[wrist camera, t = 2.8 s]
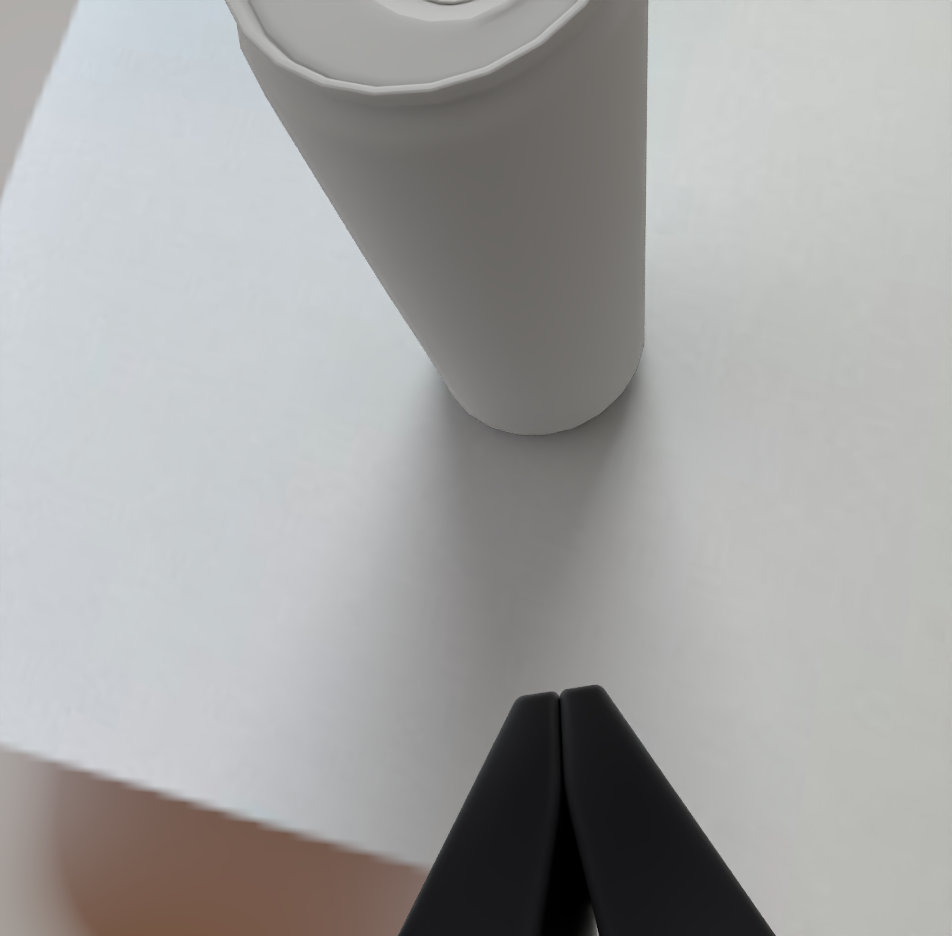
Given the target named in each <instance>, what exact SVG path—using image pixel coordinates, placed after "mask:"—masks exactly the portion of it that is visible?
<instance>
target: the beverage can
mask: <svg viewBox="0 0 952 936" xmlns="http://www.w3.org/2000/svg"><path fill="white" fill-rule="evenodd" d="M225 2H226V4H227V6H228V7H229V9H230V11H231V13H232V15H233V17H234V19H235V21H236V23H237V29H238V35H239V42H240V48H241V50H242V52H243V54H244V56H245V58H246V60H247V62H248V64H249V65H250V67H251V69H252V71H253V73H254V75H255V77H256V79H257V81H258V83H259V85H260V87H261V88H262V90H263V92H264V94H265V96H266V98H267V99H268V101H269V103H270V104H271V106H272V108H273V109H274V111H275V112H276V114H277V116H278V117H279V119H280V121H281V122H282V124H283V126H284V127H285V129H286V130H287V132H288V134H289V135H290V137H291V139H292V140H293V142H294V143H295V145H296V147H297V148H298V150H299V152H300V153H301V155H302V156H303V158H304V160H305V161H306V163H307V165H308V166H309V168H310V169H311V171H312V173H313V174H314V176H315V178H316V179H317V181H318V182H319V184H320V186H321V187H322V189H323V191H324V192H325V194H326V195H327V197H328V199H329V200H330V202H331V204H332V205H333V207H334V208H335V210H336V212H337V213H338V215H339V217H340V218H341V220H342V221H343V223H344V225H345V226H346V228H347V230H348V231H349V233H350V234H351V236H352V238H353V239H354V241H355V243H356V244H357V246H358V247H359V249H360V251H361V252H362V254H363V255H364V257H365V259H366V260H367V262H368V263H369V265H370V267H371V268H372V270H373V271H374V273H375V275H376V276H377V278H378V279H379V281H380V283H381V284H382V286H383V287H384V289H385V291H386V292H387V294H388V295H389V297H390V298H391V300H392V301H393V303H394V304H395V306H396V307H397V309H398V310H399V312H400V314H401V315H402V317H403V318H404V320H405V321H406V323H407V324H408V326H409V327H410V329H411V330H412V332H413V333H414V335H415V336H416V338H417V339H418V341H419V342H420V344H421V346H422V347H423V349H424V350H425V352H426V353H427V355H428V357H429V358H430V360H431V361H432V363H433V365H434V366H435V368H436V369H437V371H438V373H439V374H440V376H441V378H442V379H443V381H444V383H445V384H446V386H447V387H448V389H449V391H450V392H451V394H452V395H453V396H454V397H455V399H456V400H457V401H458V402H459V403H460V405H461V406H462V407H463V408H464V409H465V411H466V412H467V413H468V414H470V415H471V416H473V417H475V418H476V419H478V420H479V421H481V422H483V423H484V424H486V425H488V426H489V427H491V428H495V429H499V430H502V431H506V432H510V433H513V434H517V435H548V434H552V433H556V432H560V431H564V430H568V429H572V428H575V427H577V426H579V425H581V424H583V423H584V422H586V421H588V420H590V419H592V418H594V417H595V416H597V415H599V414H601V413H602V412H603V411H604V410H605V409H606V408H607V407H608V406H609V405H610V404H611V403H613V402H614V401H615V400H616V399H617V398H618V397H619V396H620V395H621V394H622V392H623V391H624V389H625V388H626V386H627V385H628V383H629V381H630V380H631V378H632V377H633V375H634V373H635V372H636V370H637V366H638V363H639V360H640V357H641V353H642V350H643V347H644V315H645V227H646V139H647V52H648V0H225Z"/></svg>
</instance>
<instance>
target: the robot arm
mask: <svg viewBox="0 0 952 936" xmlns="http://www.w3.org/2000/svg"><path fill="white" fill-rule="evenodd" d="M596 924H597V928H598V932H599V936H776V935H775V934H774V933H773V931H772V930H771V928H770V927H769V925H768V924H767V922H766V921H765V920H764V918H763V917H762V915H761V914H760V912H759V911H758V910H757V908H756V907H755V905H754V904H753V902H752V901H751V899H750V898H749V897H748V895H747V894H746V892H745V891H744V889H743V888H742V887H741V885H740V884H739V882H738V881H737V879H736V878H735V876H734V875H733V874H732V872H731V871H730V869H729V868H728V866H727V865H726V864H725V862H724V861H723V859H722V858H721V856H720V855H719V853H718V852H717V851H716V849H715V848H714V846H713V845H712V843H711V842H710V841H709V839H708V838H707V836H706V835H705V833H704V832H703V830H702V829H701V828H700V826H699V825H698V823H697V822H696V820H695V819H694V818H693V816H692V815H691V813H690V812H689V810H688V809H687V807H686V806H685V805H684V803H683V802H682V800H681V799H680V797H679V796H678V795H677V793H676V792H675V790H674V789H673V787H672V786H671V784H670V783H669V782H668V780H667V779H666V777H665V776H664V774H663V773H662V772H661V770H660V769H659V767H658V766H657V764H656V763H655V761H654V760H653V759H652V757H651V756H650V754H649V753H648V751H647V750H646V749H645V747H644V746H643V744H642V743H641V741H640V740H639V738H638V737H637V736H636V734H635V733H634V731H633V730H632V728H631V727H630V726H629V724H628V723H627V721H626V720H625V718H624V717H623V715H622V714H621V713H620V711H619V710H618V708H617V707H616V705H615V704H614V703H613V701H612V700H611V698H610V697H609V695H608V694H607V692H606V691H605V690H604V689H603V688H602V687H601V686H599V685H591V686H584V687H577V688H571V689H566V690H564V691H562V693H561V695H560V696H559V695H558V694H557V693H555V692H545V693H538V694H532V695H525V696H521V697H519V698H518V699H517V700H516V701H515V703H514V704H513V706H512V708H511V710H510V712H509V714H508V716H507V718H506V720H505V722H504V724H503V726H502V728H501V730H500V732H499V734H498V736H497V738H496V740H495V742H494V744H493V746H492V748H491V750H490V752H489V754H488V756H487V758H486V760H485V762H484V764H483V766H482V768H481V770H480V772H479V774H478V776H477V778H476V780H475V782H474V784H473V786H472V788H471V790H470V792H469V794H468V796H467V799H466V801H465V803H464V805H463V807H462V809H461V811H460V813H459V815H458V817H457V819H456V821H455V823H454V825H453V827H452V829H451V831H450V833H449V835H448V837H447V839H446V841H445V843H444V845H443V847H442V849H441V851H440V853H439V855H438V857H437V859H436V861H435V863H434V865H433V867H432V869H431V871H430V873H429V875H428V877H427V879H426V881H425V883H424V885H423V887H422V889H421V891H420V893H419V895H418V897H417V899H416V901H415V903H414V905H413V907H412V909H411V911H410V913H409V915H408V917H407V919H406V921H405V923H404V925H403V927H402V929H401V931H400V933H399V935H398V936H597V933H596V932H597V931H596Z"/></svg>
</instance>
